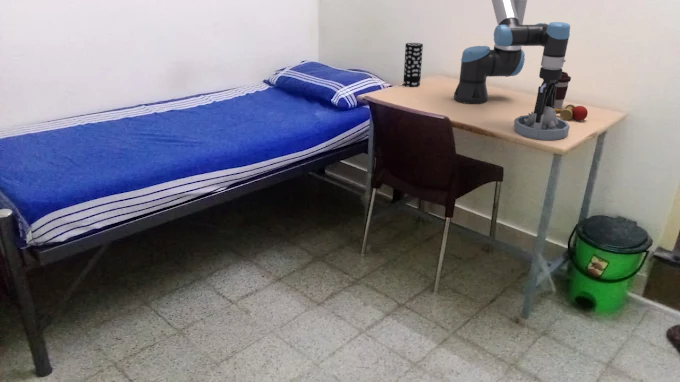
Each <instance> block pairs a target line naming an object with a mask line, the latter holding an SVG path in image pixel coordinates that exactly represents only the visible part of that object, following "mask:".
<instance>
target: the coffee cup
mask: <svg viewBox="0 0 680 382" xmlns="http://www.w3.org/2000/svg"><path fill="white" fill-rule="evenodd" d="M571 79H572V77H571V76H570V75H569V73H568V72H566V71H562V75H561V79H559V80H556V81H558V85H557V90H556V97H555V103H554V106H552V107H554V108H556V109H562V108H563V104H564V100H565V99H566V95H567V91H568V87H569V83H570V82H571Z"/></svg>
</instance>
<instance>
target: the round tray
mask: <svg viewBox="0 0 680 382" xmlns="http://www.w3.org/2000/svg"><path fill="white" fill-rule="evenodd" d="M528 116H529V114H526V115H519V116H518V117H516V118H515V119H514V123H513V124H514V125H513V127H514V132H515V133H516V134H518V135H520V136H522V137H525V138H529V139H533V140H540V141H557V140H558V139H559V140H561V139H565V138H566V137H567V135H569V131H570V128H571V127H570V125H569V123H568V122H567V120H563V119H562V118H558V117H556V119H557V120H558V123H559V124H558V125H557V126H556V127H555V128H553V129H549V128H548V129H547V130H540V129H535V128H533V127H534V124H533V125H532V126H527V125H526V123H525V120H524V119H526V120H527V119H528Z"/></svg>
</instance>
